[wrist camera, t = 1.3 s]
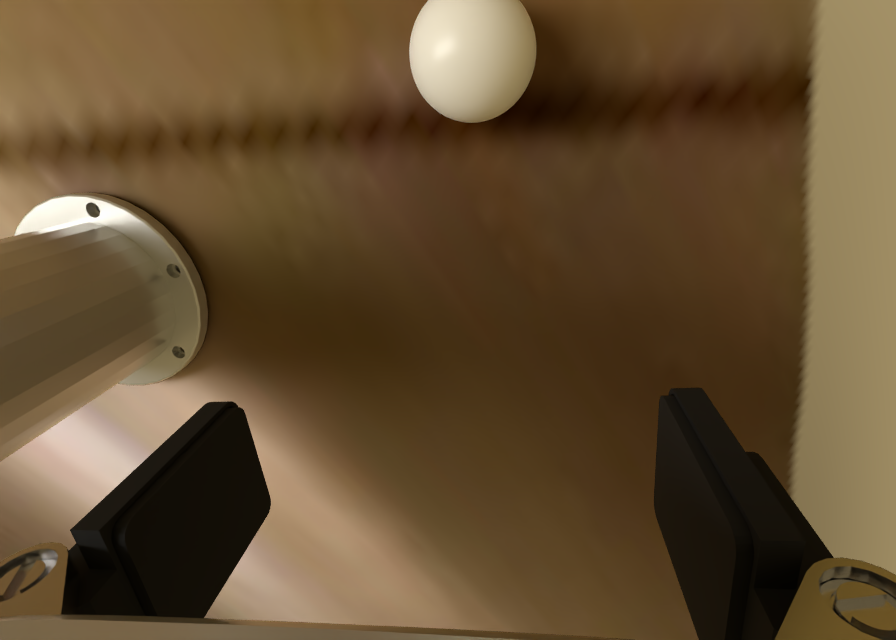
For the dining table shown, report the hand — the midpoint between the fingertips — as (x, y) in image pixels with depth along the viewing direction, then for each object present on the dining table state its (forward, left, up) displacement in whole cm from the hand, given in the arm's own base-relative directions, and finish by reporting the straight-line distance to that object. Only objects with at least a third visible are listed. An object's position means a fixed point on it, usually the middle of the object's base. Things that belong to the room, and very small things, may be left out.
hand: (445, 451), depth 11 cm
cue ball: (+2, +9, -15) cm, 18 cm away
